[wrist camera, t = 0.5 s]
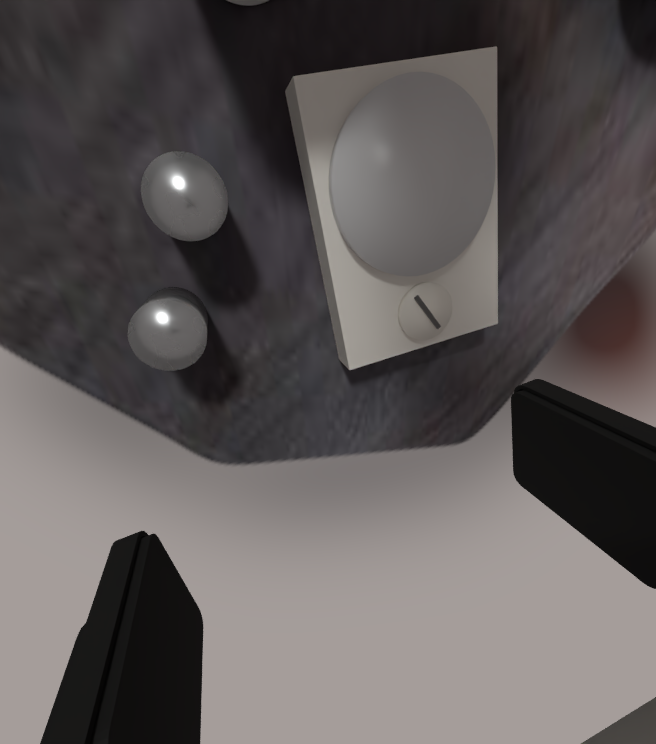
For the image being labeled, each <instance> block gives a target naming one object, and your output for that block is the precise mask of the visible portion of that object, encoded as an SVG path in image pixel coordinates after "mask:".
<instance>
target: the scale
mask: <svg viewBox="0 0 656 744" xmlns="http://www.w3.org/2000/svg"><path fill="white" fill-rule="evenodd" d="M285 94H286V99H287V104H288V109H289V114H290V119H291V124H292V129H293V134H294V139H295V144H296V149H297V154H298V158H299V163H300V168H301V173H302V178H303V183H304V188H305V193H306V198H307V203H308V208H309V213H310V218H311V223H312V228H313V233H314V238H315V243H316V247H317V252H318V257H319V262H320V267H321V272H322V277H323V282H324V287H325V292H326V297H327V302H328V307H329V312H330V317H331V322H332V327H333V332H334V337H335V341H336V346H337V351H338V356H339V360H340V361H341V362H342V363H343V364H344V365H345V366H346V367H347V368H348V369H349V370H352V369H356V368H359V367H362V366H365V365H368V364H371V363H375V362H378V361H381V360H384V359H387V358H390V357H394V356H397V355H400V354H403V353H406V352H410V351H413V350H416V349H419V348H422V347H425V346H429V345H432V344H435V343H438V342H441V341H444V340H448V339H451V338H454V337H457V336H460V335H463V334H467V333H470V332H473V331H476V330H479V329H483V328H486V327H489V326H492V325H495V324H498V188H497V46H496V47H489V48H482V49H475V50H469V51H462V52H455V53H448V54H441V55H435V56H428V57H421V58H414V59H407V60H400V61H394V62H387V63H380V64H373V65H366V66H359V67H353V68H346V69H339V70H332V71H325V72H318V73H312V74H305V75H298V76H293V77H292V79H291V81H290V83H289V85H288V87H287V89H286V90H285Z"/></svg>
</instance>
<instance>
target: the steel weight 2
mask: <svg viewBox="0 0 656 744" xmlns="http://www.w3.org/2000/svg"><path fill="white" fill-rule="evenodd" d="M207 327H208V315H207V311H206V308H205V306H204V304H203V303H202V301H201V300H200V299H199V298H198V297H197V296H196V295H195V294H193V293H192V292H190V291H188V290H185V289H182V288H177V287H169V288H164V289H161V290H159V291H157V292H155V293H154V294H152V295H151V296H150V297H149V298H148V299H147V301H146V302H145V303H144V304H143V305H142V306H141V307H140V308H139V309H138V310H137V311H136V313H135V314H134V315H133V317H132V318H131V320H130V323H129V326H128V340H129V343H130V346H131V348H132V350H133V352H134V353H135V354H136V356H137V357H138V358H139V359H140V360H142V361H143V362H144V363H146V364H147V365H149V366H151V367H153V368H156V369H160V370H166V371H174V370H180V369H184V368H186V367H188V366H190V365H192V364H193V363H195V362H196V361H197V360H198V359H199V358H200V357H201V355H202V354H203V352H204V350H205V347H206V343H207Z"/></svg>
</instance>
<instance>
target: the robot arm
mask: <svg viewBox="0 0 656 744" xmlns="http://www.w3.org/2000/svg"><path fill="white" fill-rule="evenodd" d="M511 413H512V441H513V442H512V444H513V471H514V476H515V478H516V480H517V481H518V483H519V484H520V485H521V486H522V487H523V488H525V489H526V490H527V491H528V492H530V493H531V494H532V495H533V496H535V497H536V498H537V499H539V500H540V501H541V502H542V503H544V504H545V505H546V506H547V507H549V508H550V509H551V510H552V511H554V512H555V513H556V514H557V515H559V516H560V517H561V518H562V519H564V520H565V521H566V522H567V523H569V524H570V525H571V526H572V527H574V528H575V529H576V530H578V531H579V532H580V533H581V534H583V535H584V536H585V537H586V538H588V539H589V540H590V541H591V542H593V543H594V544H595V545H596V546H598V547H599V548H600V549H601V550H603V551H604V552H605V553H607V554H608V555H609V556H610V557H611V558H613V559H614V560H615V561H617V562H618V563H619V564H620V565H622V566H623V567H624V568H625V569H627V570H628V571H629V572H630V573H632V574H633V575H634V576H636V577H637V578H638V579H639V580H640V581H642V582H643V583H644V584H646V585H647V586H649V587H652V588H654V589H656V428H655V427H653V426H651V425H648V424H646V423H643V422H641V421H639V420H636V419H634V418H632V417H629V416H627V415H624V414H622V413H620V412H617V411H615V410H613V409H610V408H608V407H605V406H603V405H601V404H598V403H596V402H594V401H591V400H589V399H586V398H584V397H582V396H579V395H577V394H575V393H572V392H570V391H567V390H565V389H562V388H560V387H558V386H556V385H553V384H551V383H548V382H546V381H544V380H540V379H535V380H533V381H530V382H527V383H524V384H522V385H519V386H517V387H516V388H515V390H514V394H513V395H512V397H511ZM202 650H203V620H202V615H201V612H200V610H199V608H198V606H197V604H196V602H195V601H194V599H193V597H192V595H191V594H190V592H189V590H188V588H187V587H186V585H185V583H184V581H183V580H182V578H181V576H180V575H179V573H178V571H177V569H176V568H175V566H174V564H173V562H172V561H171V559H170V557H169V555H168V554H167V552H166V550H165V549H164V547H163V545H162V543H161V542H160V540H159V538H158V537H157V535H156V534H151V535H148V534H147V533H146V532H145V531H140V532H138V533H135V534H133V535H130V536H127V537H125V538H122V539H119V540H117V541H115V542H114V543H113V545H112V547H111V550H110V553H109V556H108V559H107V562H106V565H105V568H104V571H103V574H102V577H101V580H100V583H99V586H98V589H97V592H96V595H95V598H94V601H93V604H92V607H91V610H90V613H89V616H88V619H87V622H86V624H85V625H84V626H83V627H82V628H81V630H80V632H79V634H78V636H77V639H76V641H75V644H74V648H73V650H72V653H71V656H70V659H69V662H68V665H67V668H66V670H65V673H64V676H63V680H62V682H61V685H60V688H59V691H58V694H57V697H56V699H55V703H54V706H53V708H52V711H51V714H50V717H49V720H48V723H47V726H46V728H45V732H44V734H43V737H42V740H41V743H40V744H200V728H201V691H202V652H203V651H202ZM581 744H656V697H655V698H654V699H652V700H651V701H649V702H647V703H646V704H644V705H643V706H641V707H639V708H638V709H636V710H634V711H633V712H631V713H630V714H628V715H626V716H625V717H623V718H622V719H620V720H618V721H617V722H615V723H614V724H612V725H610V726H609V727H607V728H605V729H604V730H602V731H601V732H599V733H597V734H596V735H594V736H593V737H591V738H589V739H588V740H586V741H585V742H583V743H581Z"/></svg>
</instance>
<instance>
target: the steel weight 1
mask: <svg viewBox="0 0 656 744" xmlns="http://www.w3.org/2000/svg"><path fill="white" fill-rule="evenodd" d="M141 196H142V201H143V204H144V207H145V210H146V212H147V214H148V215H149V217H150V218H151V220H152V221H153V222H154V224H155V225H156V226H157V227H158V228H159V229H161V230H162V231H163V232H165V233H166V234H168V235H170V236H171V237H174V238H176V239H179V240H183V241H199V240H203V239H206V238H208V237H210V236H211V235H213V234H214V233H215V232H217V231H218V229H219V228H220V227H221V226H222V224H223V222H224V220H225V218H226V215H227V210H228V196H227V191H226V188H225V185H224V183H223V181H222V179H221V177H220V176H219V174H218V173H217V171H216V170H215V169H214V168H213V167H212V166H211V165H210V164H209V163H208V162H206V161H205V160H204V159H202V158H200V157H198V156H196V155H194V154H191V153H188V152H181V151H175V152H168V153H165V154H163V155H160V156H159V157H157V158H155V159H154V160H153V161H152V162H151V163H150V164H149V166H148V167H147V169H146V170H145V172H144V175H143V178H142V182H141Z"/></svg>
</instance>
